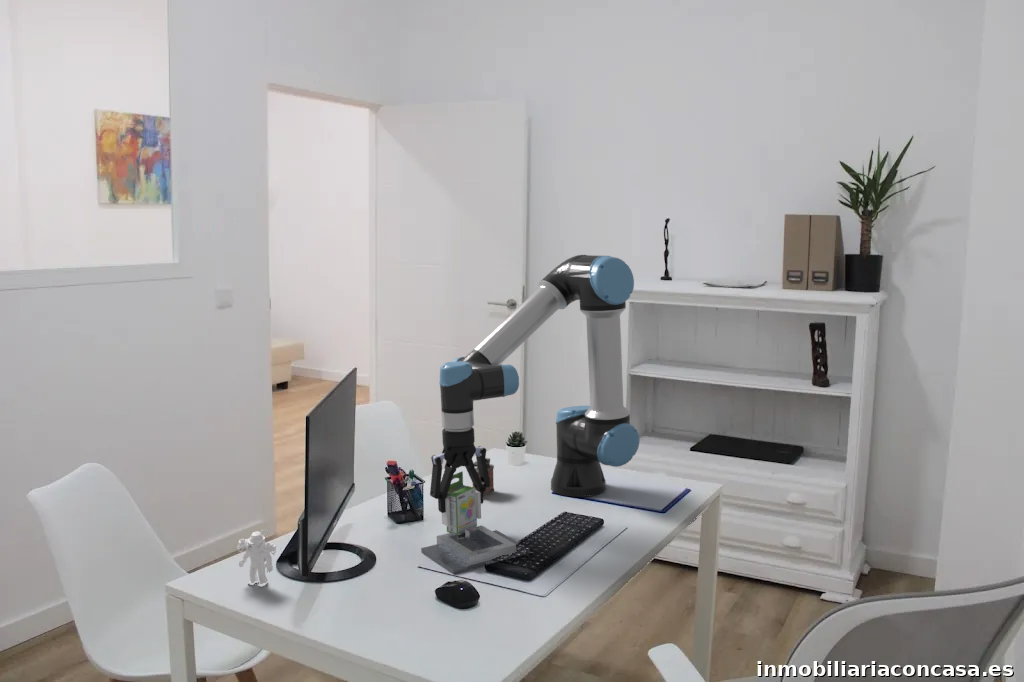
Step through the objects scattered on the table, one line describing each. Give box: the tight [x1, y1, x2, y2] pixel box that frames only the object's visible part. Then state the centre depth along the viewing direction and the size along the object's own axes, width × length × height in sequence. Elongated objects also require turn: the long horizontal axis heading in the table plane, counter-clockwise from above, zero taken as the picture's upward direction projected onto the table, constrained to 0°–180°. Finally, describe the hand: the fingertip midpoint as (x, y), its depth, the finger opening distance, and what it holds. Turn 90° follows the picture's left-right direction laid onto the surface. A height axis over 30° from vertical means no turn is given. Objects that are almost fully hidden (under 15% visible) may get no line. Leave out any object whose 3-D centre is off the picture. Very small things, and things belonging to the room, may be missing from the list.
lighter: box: [472, 457, 495, 498], centre depth 241 cm, size 8×3×10 cm, turn 144°
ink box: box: [446, 471, 478, 536], centre depth 211 cm, size 7×4×13 cm, turn 144°
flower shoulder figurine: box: [236, 528, 277, 584], centre depth 184 cm, size 9×4×12 cm, turn 69°
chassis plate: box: [420, 525, 520, 575], centre depth 200 cm, size 20×15×3 cm
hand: (461, 520), depth 212 cm, fingers closed on ink box, 8 cm apart
